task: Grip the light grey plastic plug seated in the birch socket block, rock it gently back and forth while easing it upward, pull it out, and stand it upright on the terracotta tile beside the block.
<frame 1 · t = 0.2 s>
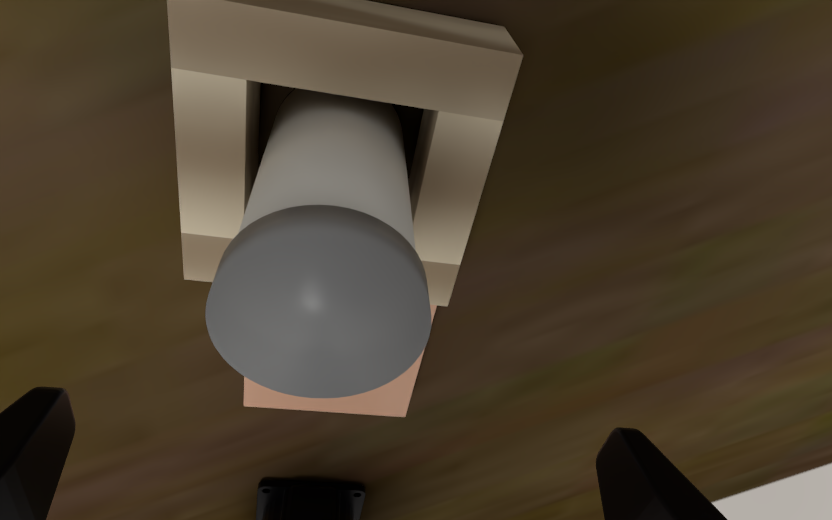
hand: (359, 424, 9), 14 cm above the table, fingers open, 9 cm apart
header: (338, 140, 21), on the table
plug: (331, 211, 17), in the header
tile: (336, 333, 27), on the table
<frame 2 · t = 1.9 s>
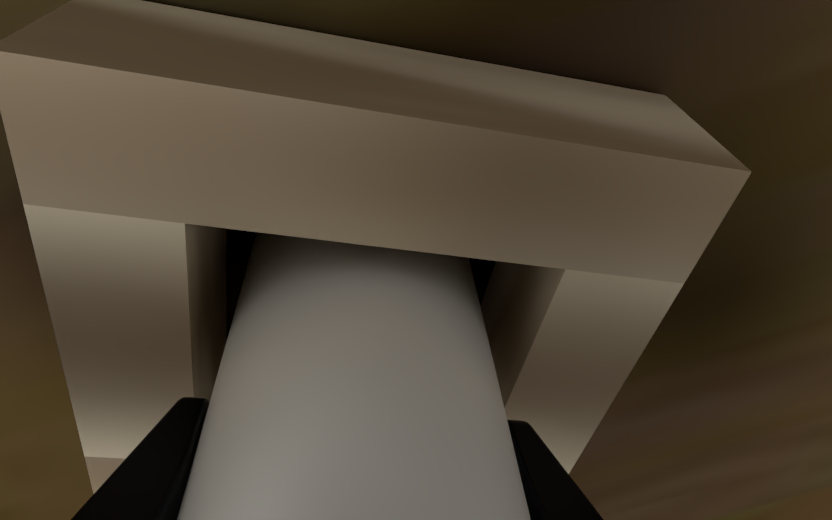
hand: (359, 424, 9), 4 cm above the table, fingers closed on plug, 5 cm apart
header: (361, 274, 13), on the table
plug: (358, 475, 9), in the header, touching gripper
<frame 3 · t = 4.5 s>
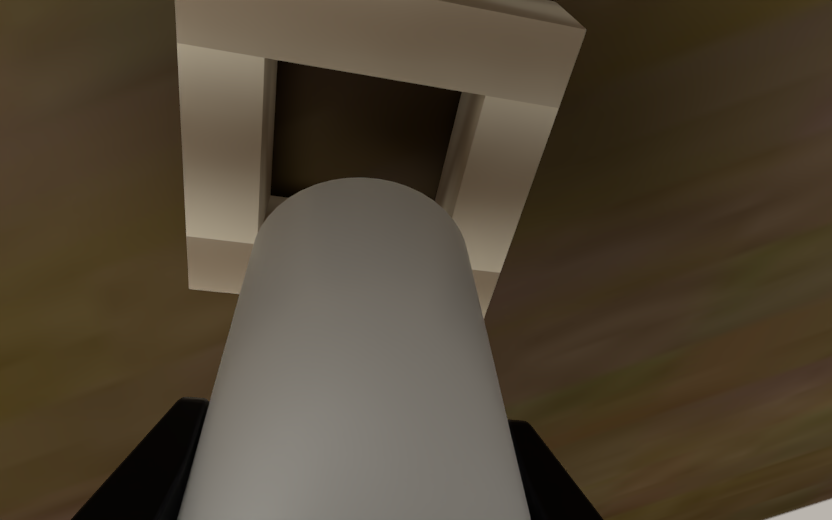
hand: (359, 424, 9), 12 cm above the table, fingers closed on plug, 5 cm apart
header: (363, 132, 19), on the table
plug: (358, 474, 9), point 13 cm above the table, touching gripper
when the fingers open (6 cm above the table, at t = 7.4 s): plug stays where it is, resting on tile.
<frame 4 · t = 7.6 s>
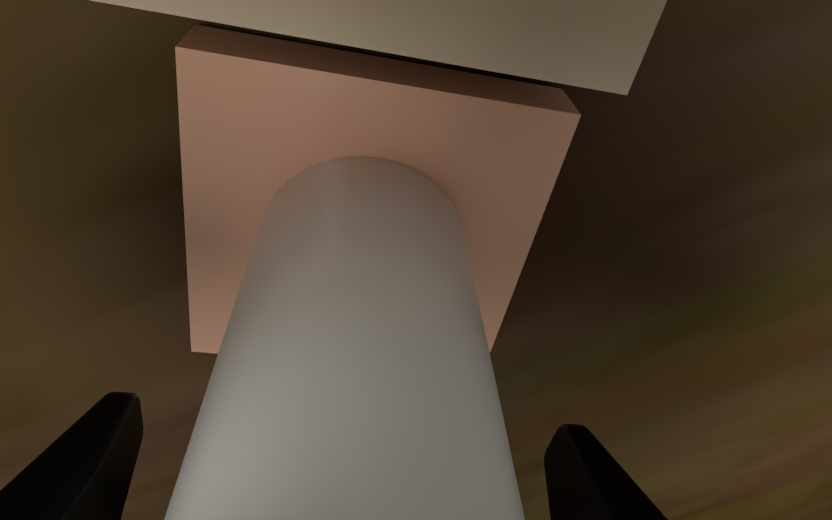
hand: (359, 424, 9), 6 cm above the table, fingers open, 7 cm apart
plug: (354, 423, 9), on the tile, point 7 cm above the table
tile: (362, 213, 15), on the table
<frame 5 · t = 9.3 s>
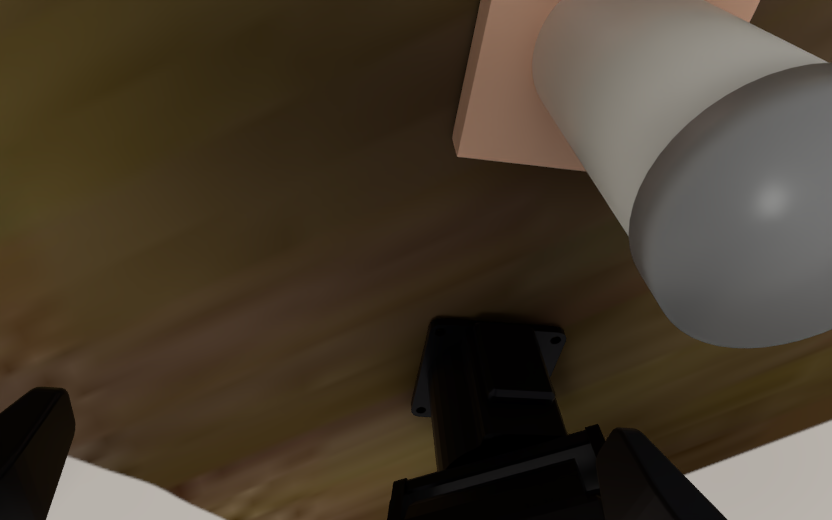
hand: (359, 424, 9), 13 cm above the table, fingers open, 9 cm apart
plug: (679, 120, 14), on the tile, point 6 cm above the table
tile: (593, 40, 19), on the table
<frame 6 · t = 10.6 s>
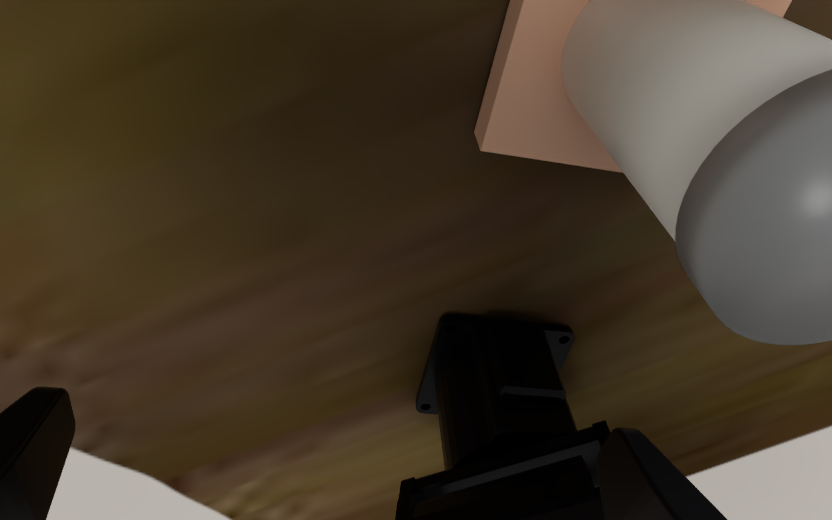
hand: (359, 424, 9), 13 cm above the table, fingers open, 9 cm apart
plug: (716, 118, 14), on the tile, point 6 cm above the table
tile: (620, 39, 19), on the table
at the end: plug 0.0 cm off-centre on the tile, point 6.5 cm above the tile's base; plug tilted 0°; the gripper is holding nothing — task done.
